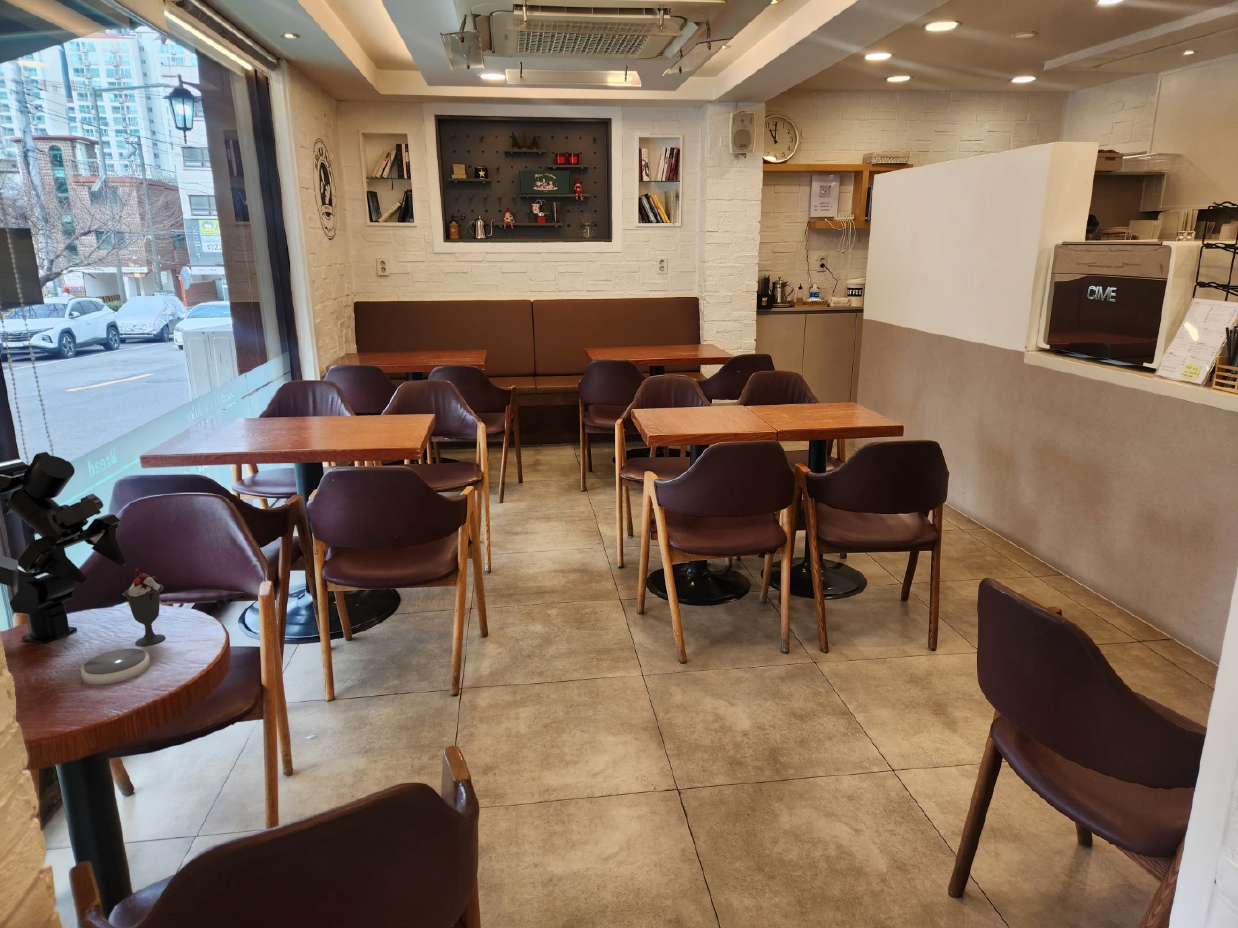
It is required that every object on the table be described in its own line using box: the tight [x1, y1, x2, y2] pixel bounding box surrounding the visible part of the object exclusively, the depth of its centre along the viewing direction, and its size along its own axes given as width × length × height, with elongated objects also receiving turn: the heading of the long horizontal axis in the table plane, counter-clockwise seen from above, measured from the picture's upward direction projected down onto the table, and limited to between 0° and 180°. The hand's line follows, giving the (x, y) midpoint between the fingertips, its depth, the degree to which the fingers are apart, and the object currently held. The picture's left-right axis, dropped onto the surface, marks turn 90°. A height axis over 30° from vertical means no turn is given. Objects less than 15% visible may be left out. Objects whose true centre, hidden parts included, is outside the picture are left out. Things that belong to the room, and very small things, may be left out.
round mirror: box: [80, 648, 151, 686], centre depth 135 cm, size 10×10×2 cm
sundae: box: [121, 567, 166, 647], centre depth 146 cm, size 7×7×15 cm
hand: (105, 572), depth 145 cm, fingers open, 9 cm apart
